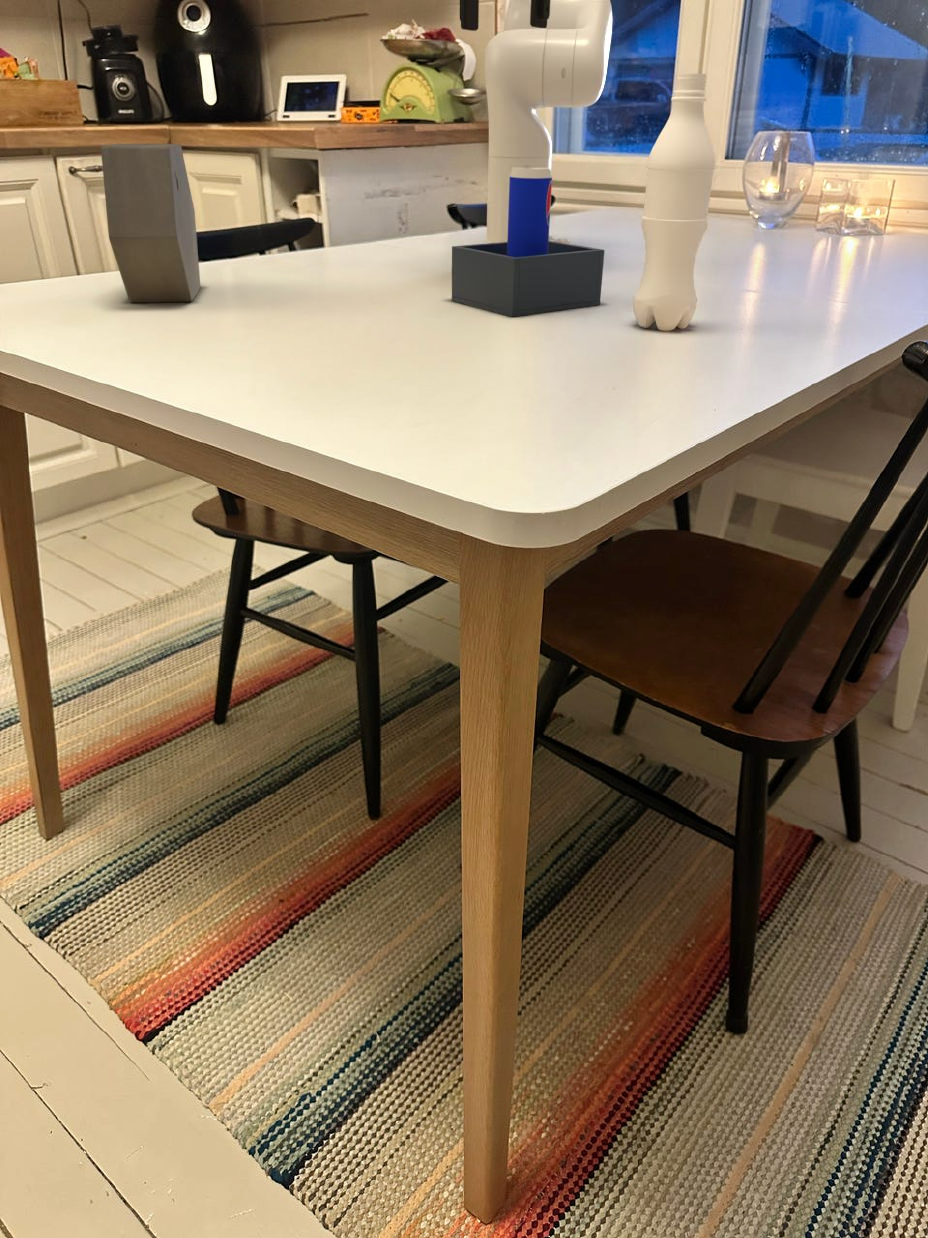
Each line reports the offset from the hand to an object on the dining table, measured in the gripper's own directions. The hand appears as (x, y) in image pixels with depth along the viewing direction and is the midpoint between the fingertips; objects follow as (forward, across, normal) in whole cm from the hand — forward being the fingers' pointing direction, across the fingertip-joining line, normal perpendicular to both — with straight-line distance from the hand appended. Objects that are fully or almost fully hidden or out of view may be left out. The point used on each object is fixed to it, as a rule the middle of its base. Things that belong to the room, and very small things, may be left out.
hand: (503, 28), depth 108 cm
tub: (+30, -8, +6) cm, 32 cm away
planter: (+31, +33, +30) cm, 54 cm away
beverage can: (+30, -8, +6) cm, 32 cm away
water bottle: (+31, -28, +10) cm, 43 cm away
